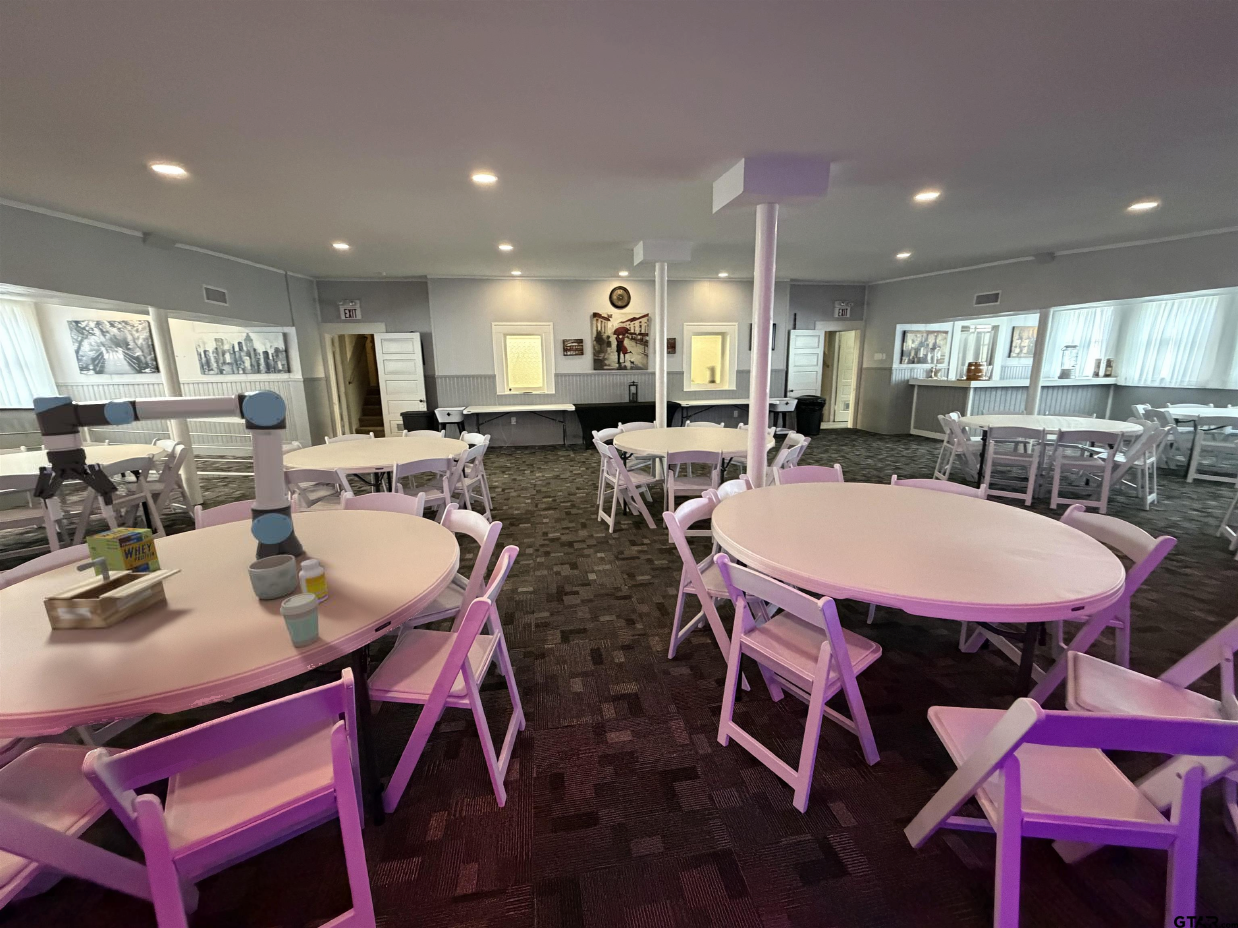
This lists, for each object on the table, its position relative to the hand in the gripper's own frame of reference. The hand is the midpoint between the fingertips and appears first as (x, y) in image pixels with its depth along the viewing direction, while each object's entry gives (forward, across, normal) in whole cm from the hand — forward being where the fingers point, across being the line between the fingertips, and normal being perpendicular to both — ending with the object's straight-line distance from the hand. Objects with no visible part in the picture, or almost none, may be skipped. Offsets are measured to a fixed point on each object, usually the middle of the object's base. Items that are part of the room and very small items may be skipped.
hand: (83, 517), depth 145 cm
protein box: (+29, +14, -27) cm, 42 cm away
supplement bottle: (+29, -66, +11) cm, 73 cm away
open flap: (+19, -3, +6) cm, 21 cm away
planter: (+29, -51, +3) cm, 59 cm away
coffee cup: (+29, -74, +35) cm, 87 cm away
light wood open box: (+29, -11, +8) cm, 32 cm away
